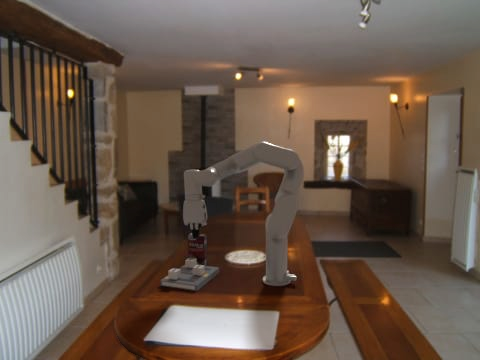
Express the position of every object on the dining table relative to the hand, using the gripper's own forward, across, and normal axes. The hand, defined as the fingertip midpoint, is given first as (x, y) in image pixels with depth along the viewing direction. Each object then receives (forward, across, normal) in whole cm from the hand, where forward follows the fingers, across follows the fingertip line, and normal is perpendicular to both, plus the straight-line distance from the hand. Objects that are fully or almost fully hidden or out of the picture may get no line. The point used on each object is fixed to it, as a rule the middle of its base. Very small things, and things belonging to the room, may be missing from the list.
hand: (196, 237), depth 185 cm
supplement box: (+20, +10, -21) cm, 31 cm away
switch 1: (+17, +9, +6) cm, 20 cm away
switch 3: (+17, 0, -2) cm, 17 cm away
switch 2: (+17, +8, -10) cm, 22 cm away
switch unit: (+20, +5, -2) cm, 21 cm away
